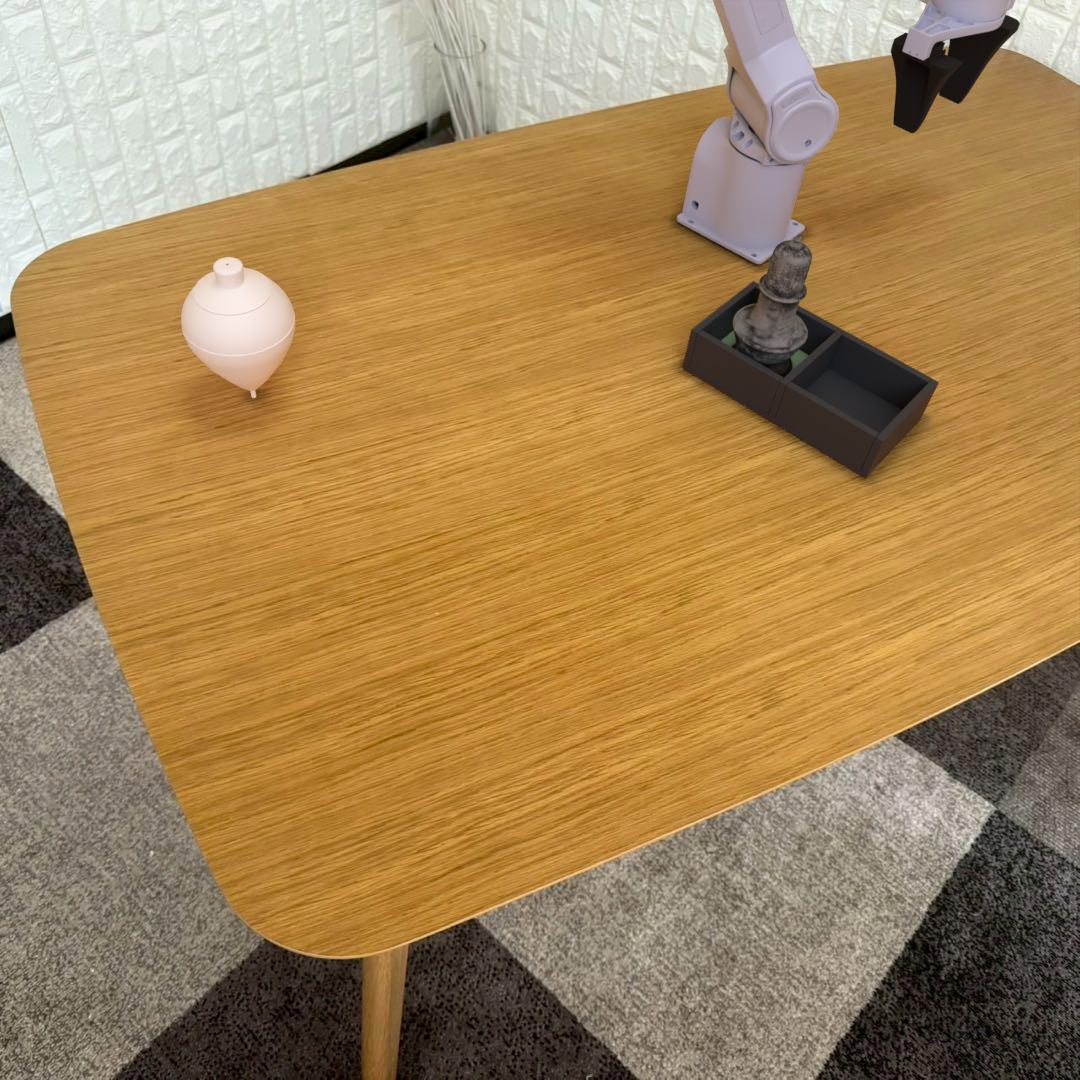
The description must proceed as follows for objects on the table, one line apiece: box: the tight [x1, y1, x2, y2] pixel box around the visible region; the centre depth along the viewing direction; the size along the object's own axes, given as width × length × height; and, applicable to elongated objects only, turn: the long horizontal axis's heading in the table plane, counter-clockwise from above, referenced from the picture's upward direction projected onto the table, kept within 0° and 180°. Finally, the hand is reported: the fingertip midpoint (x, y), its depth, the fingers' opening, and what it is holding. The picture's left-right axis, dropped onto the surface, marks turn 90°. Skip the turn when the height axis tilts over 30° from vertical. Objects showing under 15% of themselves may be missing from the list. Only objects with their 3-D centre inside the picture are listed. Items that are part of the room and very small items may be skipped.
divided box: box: [682, 280, 940, 479], centre depth 79 cm, size 17×9×4 cm, turn 49°
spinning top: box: [180, 256, 296, 399], centre depth 72 cm, size 8×8×12 cm
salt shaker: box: [731, 234, 813, 378], centre depth 77 cm, size 6×6×12 cm
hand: (928, 113), depth 90 cm, fingers open, 7 cm apart
